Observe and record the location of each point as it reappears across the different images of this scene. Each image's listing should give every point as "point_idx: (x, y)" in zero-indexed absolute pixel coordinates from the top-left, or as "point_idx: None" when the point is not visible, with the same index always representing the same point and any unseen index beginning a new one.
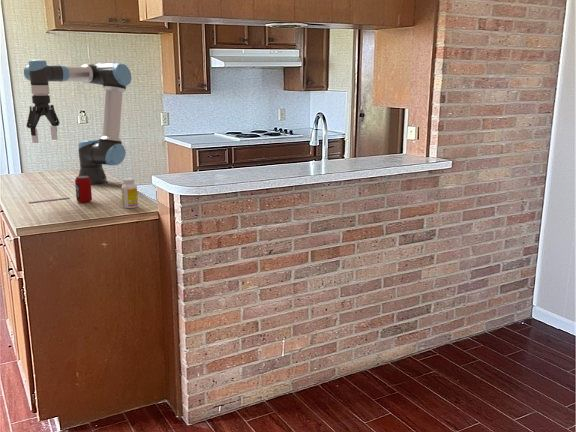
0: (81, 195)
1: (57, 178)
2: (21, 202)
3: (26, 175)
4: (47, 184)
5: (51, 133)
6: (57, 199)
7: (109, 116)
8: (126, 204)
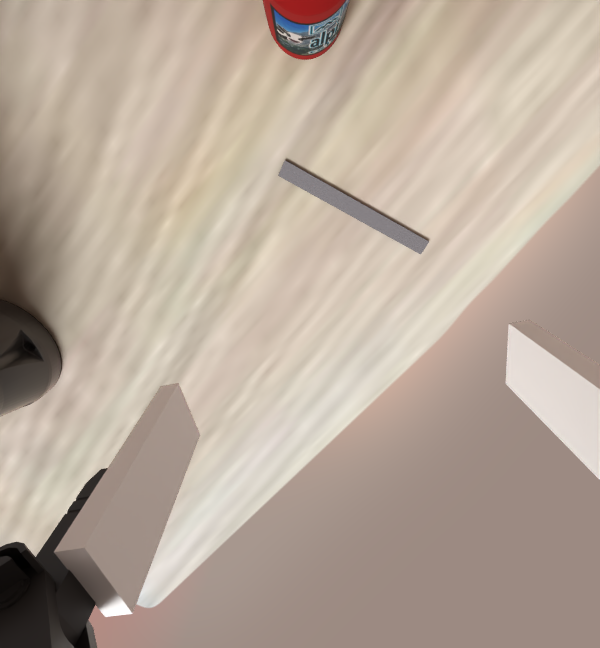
0: None
1: (67, 488)
2: (423, 282)
3: None
4: None
5: (175, 489)
6: (332, 187)
7: None
8: None
